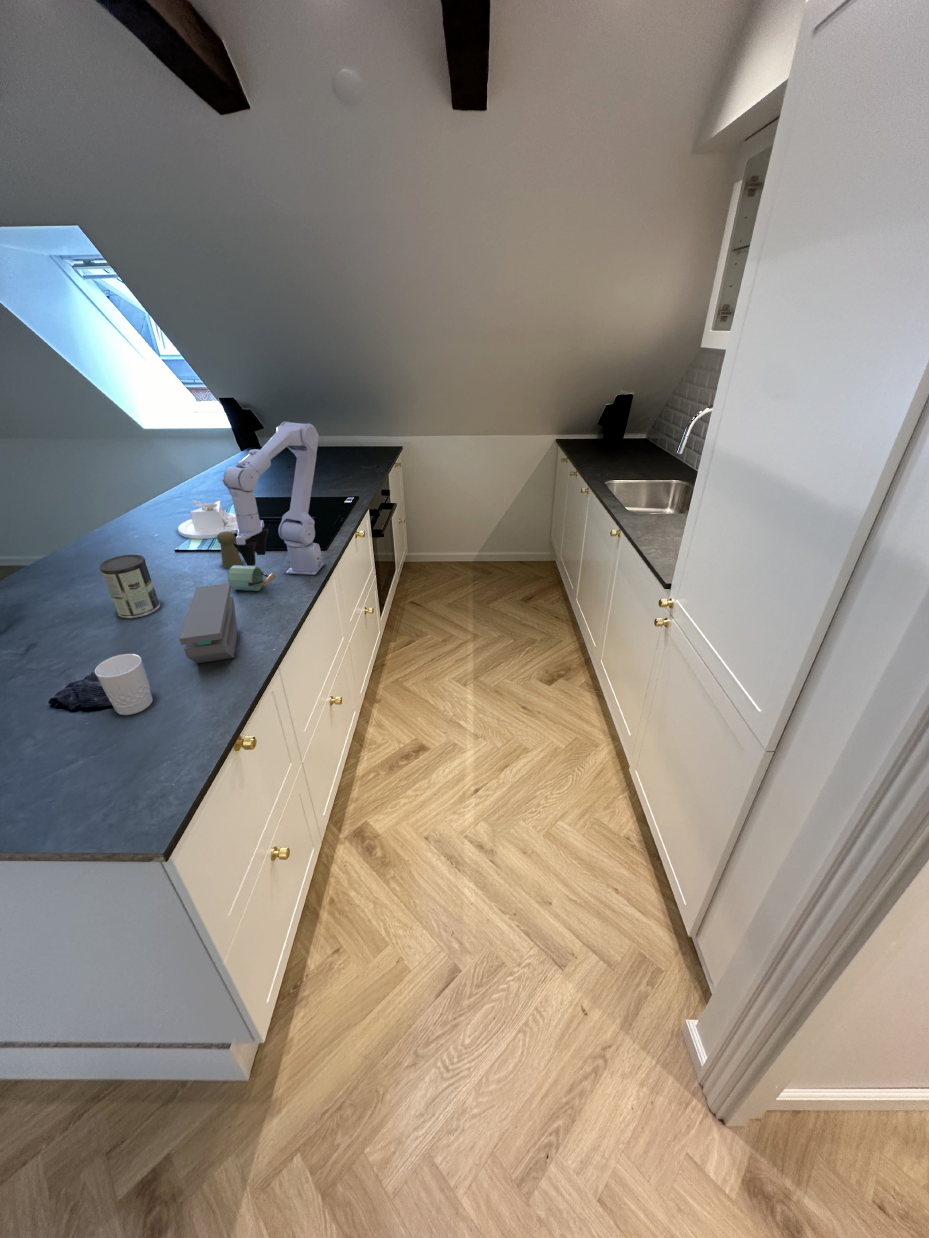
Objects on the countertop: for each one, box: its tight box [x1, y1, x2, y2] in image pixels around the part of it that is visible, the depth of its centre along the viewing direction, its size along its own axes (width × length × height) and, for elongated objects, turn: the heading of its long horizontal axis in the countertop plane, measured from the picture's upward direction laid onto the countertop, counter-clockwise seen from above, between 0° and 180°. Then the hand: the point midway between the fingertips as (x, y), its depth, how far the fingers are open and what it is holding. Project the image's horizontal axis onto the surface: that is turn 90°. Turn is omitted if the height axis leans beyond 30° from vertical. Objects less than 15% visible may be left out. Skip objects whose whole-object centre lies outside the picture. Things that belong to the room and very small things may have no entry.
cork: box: [216, 531, 244, 570], centre depth 163 cm, size 6×6×11 cm
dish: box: [177, 499, 238, 540], centre depth 193 cm, size 25×25×11 cm
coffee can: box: [98, 554, 161, 619], centre depth 136 cm, size 10×10×14 cm
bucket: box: [227, 565, 276, 592], centre depth 149 cm, size 7×8×11 cm
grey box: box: [178, 582, 238, 664], centre depth 121 cm, size 25×8×11 cm, turn 17°
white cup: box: [94, 653, 154, 716], centre depth 102 cm, size 8×8×10 cm
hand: (256, 559), depth 144 cm, fingers open, 7 cm apart
